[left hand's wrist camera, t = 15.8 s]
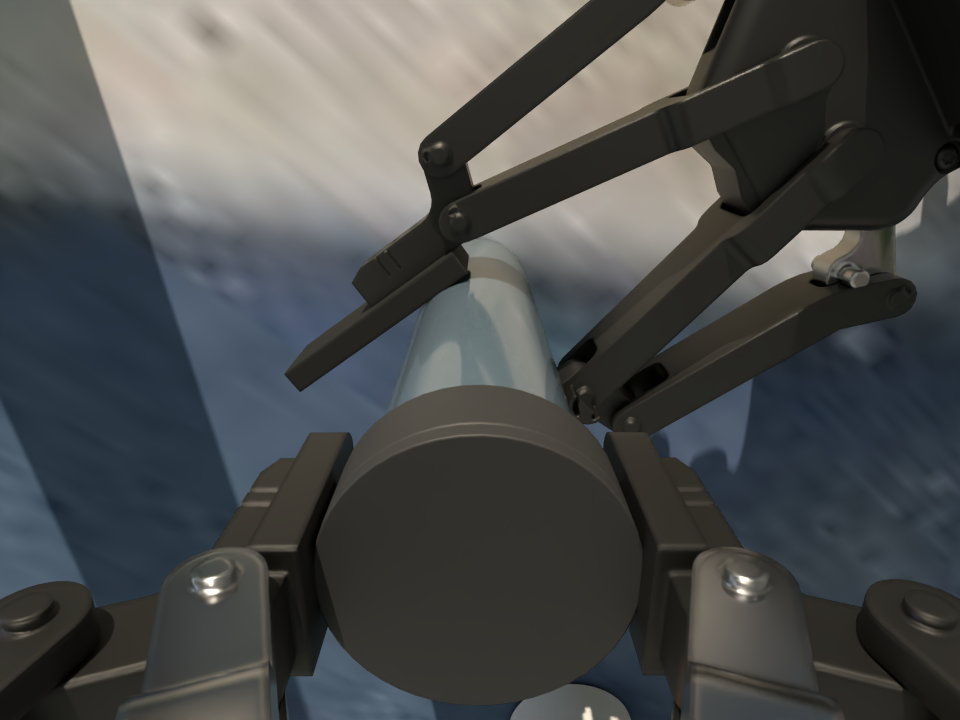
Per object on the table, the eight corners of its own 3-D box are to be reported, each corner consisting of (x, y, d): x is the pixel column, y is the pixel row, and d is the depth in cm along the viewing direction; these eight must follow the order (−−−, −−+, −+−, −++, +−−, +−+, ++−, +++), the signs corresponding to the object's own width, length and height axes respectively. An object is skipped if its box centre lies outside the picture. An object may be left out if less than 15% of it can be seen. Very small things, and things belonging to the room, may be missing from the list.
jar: (473, 352, 27) (464, 695, 11) (409, 282, 26) (291, 543, 10) (547, 293, 26) (662, 568, 10) (484, 217, 25) (495, 384, 9)
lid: (638, 594, 11) (666, 676, 10) (384, 643, 12) (368, 730, 10) (592, 353, 10) (616, 399, 8) (298, 418, 10) (263, 477, 8)
